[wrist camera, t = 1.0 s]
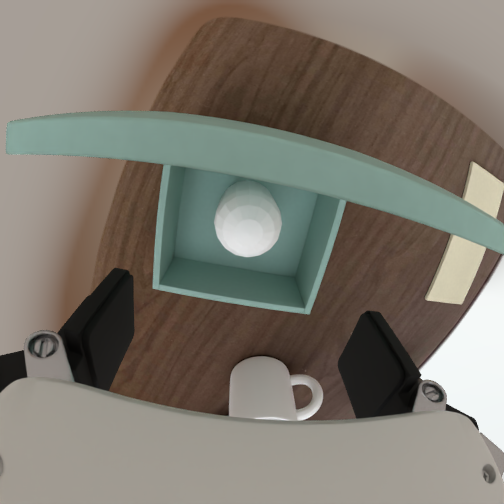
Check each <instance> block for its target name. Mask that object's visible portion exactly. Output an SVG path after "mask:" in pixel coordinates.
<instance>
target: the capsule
mask: <svg viewBox="0 0 504 504" xmlns="http://www.w3.org/2000/svg"><path fill="white" fill-rule="evenodd" d="M214 225H215V230H216V234H217V237H218V239H219V241H220V242H221V243H222V245H223V246H224V248H225V249H227V250H228V251H230V252H232V253H233V254H235V255H238V256H243V257H253V256H259V255H261V254H263V253H265V252H266V251H268V250H270V249H271V248H272V246H273V245H274V244H275V243H276V241H277V240H278V237H279V234H280V230H281V226H282V220H281V213H280V210H279V208H278V206H277V204H276V202H275V200H274V199H273V197H272V195H271V194H270V192H269V190H268V189H267V188H266V187H264V186H263V185H261V184H260V183H258V182H254V181H249V180H246V181H240V182H236V183H235V184H233V185H232V186H230V187H228V188H227V190H226V191H225V193H224V194H223V195H222V197H221V200H220V202H219V205H218V207H217V210H216V215H215V220H214Z"/></svg>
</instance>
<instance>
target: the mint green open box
mask: <svg viewBox="0 0 504 504" xmlns="http://www.w3.org/2000/svg"><path fill="white" fill-rule="evenodd" d="M246 180H249V181H254V182H258V183H260V184H261V185H263V186H264V187H266V188H267V189H268V190H269V192H270V194H271V195H272V197H273V199H274V200H275V202H276V204H277V206H278V208H279V210H280V213H281V220H282V226H281V230H280V234H279V237H278V240H277V241H276V243H275V244H274V245H273V246H272V248H271V249H270V250H268V251H266V252H265V253H263V254H261V255H259V256H253V257H243V256H238V255H235V254H233V253H232V252H230V251H228V250H227V249H225V248H224V246H223V245H222V243H221V242H220V241H219V239H218V237H217V234H216V230H215V225H214V220H215V215H216V210H217V207H218V205H219V202H220V200H221V197H222V195H223V194H224V193H225V191H226V190H227V188H228V187H230V186H232V185H233V184H235V183H236V182H240V181H246ZM345 204H346V201H345V200H342V199H338V198H334V197H330V196H326V195H322V194H318V193H314V192H310V191H306V190H302V189H297V188H293V187H289V186H284V185H280V184H275V183H270V182H265V181H261V180H256V179H251V178H245V177H240V176H235V175H229V174H224V173H218V172H212V171H206V170H200V169H193V168H187V167H180V166H173V165H165V164H164V165H163V172H162V180H161V187H160V196H159V204H158V214H157V224H156V236H155V250H154V267H153V289H158V290H163V291H168V292H173V293H178V294H183V295H188V296H194V297H199V298H205V299H210V300H216V301H222V302H228V303H234V304H240V305H246V306H253V307H260V308H266V309H273V310H281V311H288V312H296V313H304V314H310V311H311V309H312V306H313V303H314V300H315V298H316V295H317V292H318V289H319V286H320V284H321V281H322V278H323V275H324V272H325V269H326V266H327V263H328V260H329V257H330V254H331V251H332V248H333V245H334V241H335V238H336V235H337V232H338V228H339V225H340V222H341V218H342V215H343V211H344V208H345Z"/></svg>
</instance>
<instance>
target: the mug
mask: <svg viewBox="0 0 504 504" xmlns="http://www.w3.org/2000/svg"><path fill="white" fill-rule="evenodd" d="M297 384H305V385H307V386H309V387H310V388H311V390H312V393H313V398H312V401H311V402H310V404H309V405H308V406H306V407H304V408H302V409H298V410H296V406H295V401H294V395H293V390H292V385H297ZM322 400H323V391H322V388H321V386H320V384H319V383H318V381H317V380H315V379H314V378H312V377H310V376H307V375H290V374H289V371H288V369H287V367H286V366H285V365H284V364H283V363H282V362H281V361H279V360H277V359H275V358H271V357H266V356H257V357H251V358H248V359H245V360H243V361H241V362H240V363H238V364H237V365H236V366H235V367H234V369H233V370H232V373H231V377H230V397H229V416H232V417H241V418H252V419H266V420H290V421H302V420H305V419H307V418H309V417H311V416H312V415H313V414H315V413H316V412H317V411H318V409H319V408H320V406H321V404H322Z"/></svg>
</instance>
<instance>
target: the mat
mask: <svg viewBox="0 0 504 504" xmlns="http://www.w3.org/2000/svg"><path fill="white" fill-rule="evenodd" d="M503 190H504V183H502V182H501V181H500V180H498V179H497V178H496V177H494V176H493V175H492V174H490V173H489V172H487V171H486V170H485V169H483V168H482V167H480V166H479V165H477V164H476V163H474V162H472V161H471V163H470V167H469V172H468V176H467V181H466V185H465V189H464V193H463V196H462V199H463V200H465V201H467V202H469V203H470V204H472V205H474V206H476V207H477V208H479V209H481V210H482V211H484V212H486V213H487V214H489V215H491V216H492V217H494V218H495V219H496V216H497V213H498V209H499V206H500V202H501V198H502V194H503ZM485 250H486V247H484V246H481V245H479V244H476V243H474V242H471V241H469V240H466V239H464V238H461V237H458V236H456V235H453V234H451V235H450V238H449V241H448V244H447V246H446V249H445V252H444V254H443V257H442V259H441V262H440V264H439V267H438V269H437V271H436V274H435V276H434V278H433V281H432V283H431V285H430V287H429V290H428V292H427V294H426V296H425V299H426V300H429V301H437V302H445V303H453V304H462V303H463V301H464V299H465V297H466V295H467V292H468V290H469V288H470V286H471V284H472V282H473V279H474V277H475V275H476V272H477V270H478V268H479V265H480V263H481V260H482V258H483V255H484V252H485Z"/></svg>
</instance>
